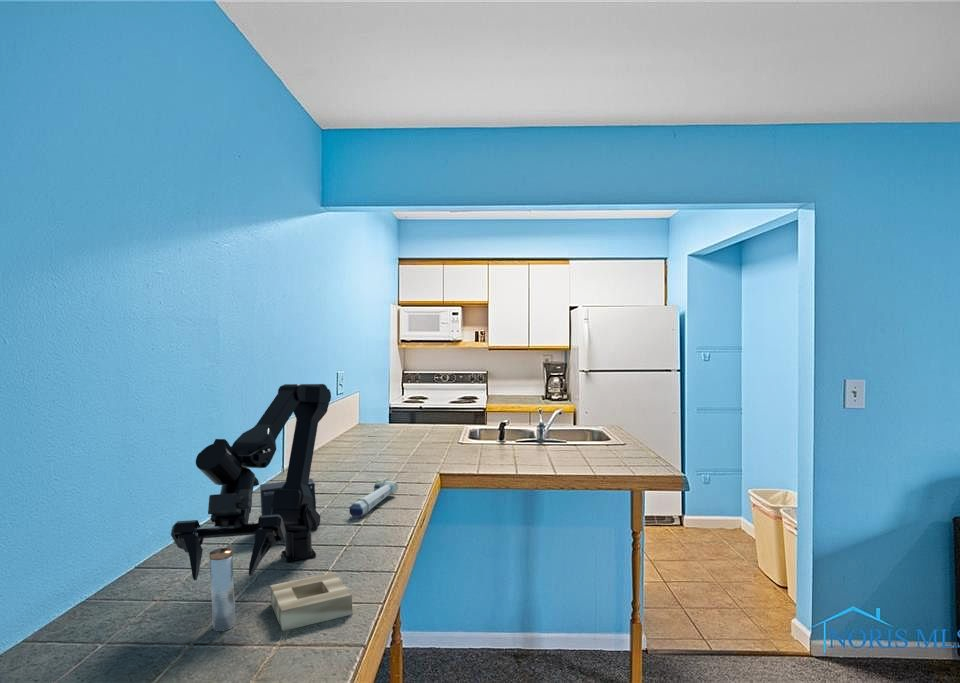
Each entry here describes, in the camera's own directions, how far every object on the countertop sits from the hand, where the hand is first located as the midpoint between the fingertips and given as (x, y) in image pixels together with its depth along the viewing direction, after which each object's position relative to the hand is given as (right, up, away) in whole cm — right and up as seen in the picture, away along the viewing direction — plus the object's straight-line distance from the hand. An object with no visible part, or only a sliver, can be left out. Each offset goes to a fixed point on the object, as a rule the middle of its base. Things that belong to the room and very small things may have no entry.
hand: (222, 577), depth 109 cm
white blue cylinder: (+12, -4, +71) cm, 72 cm away
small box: (-4, -7, +51) cm, 52 cm away
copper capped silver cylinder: (0, -8, 0) cm, 8 cm away
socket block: (+14, -8, +5) cm, 17 cm away
